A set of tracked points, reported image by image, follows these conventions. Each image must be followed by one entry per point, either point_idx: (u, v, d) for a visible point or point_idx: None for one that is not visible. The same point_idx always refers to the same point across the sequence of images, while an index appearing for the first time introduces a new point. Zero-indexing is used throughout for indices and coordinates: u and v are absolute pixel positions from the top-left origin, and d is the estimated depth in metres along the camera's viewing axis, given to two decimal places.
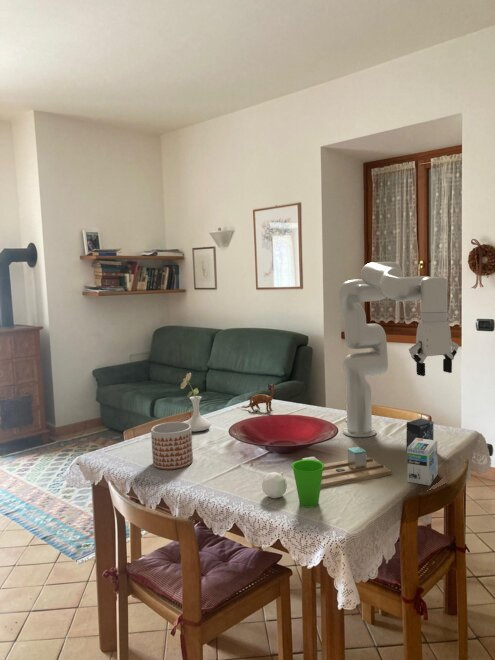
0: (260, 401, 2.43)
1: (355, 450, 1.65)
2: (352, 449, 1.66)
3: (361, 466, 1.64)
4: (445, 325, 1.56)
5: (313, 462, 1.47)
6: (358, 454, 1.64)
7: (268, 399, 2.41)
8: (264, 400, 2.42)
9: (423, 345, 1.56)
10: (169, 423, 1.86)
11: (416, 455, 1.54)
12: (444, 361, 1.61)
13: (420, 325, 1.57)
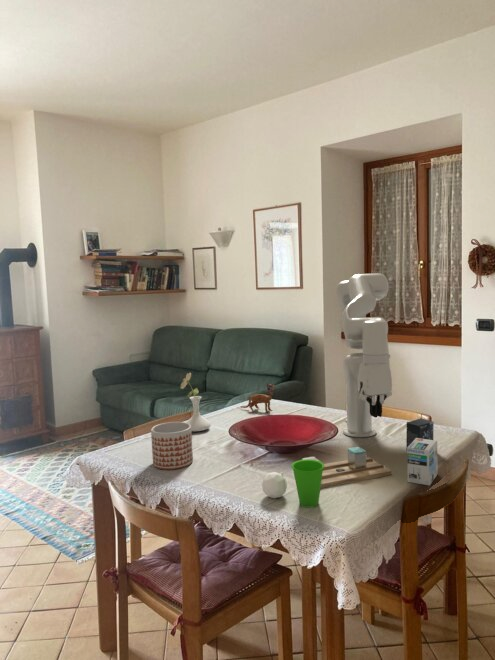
0: (259, 401, 2.43)
1: (355, 450, 1.65)
2: (352, 449, 1.66)
3: (361, 466, 1.64)
4: (385, 366, 1.64)
5: (313, 462, 1.47)
6: (358, 454, 1.64)
7: (267, 399, 2.41)
8: (263, 400, 2.42)
9: (364, 386, 1.63)
10: (169, 423, 1.86)
11: (416, 455, 1.54)
12: None
13: (361, 366, 1.64)
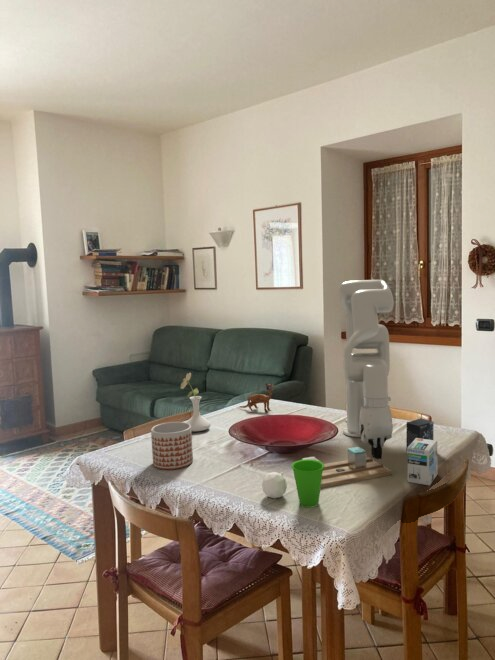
0: (258, 401, 2.43)
1: (355, 450, 1.65)
2: (352, 449, 1.66)
3: (361, 466, 1.64)
4: (386, 410, 1.65)
5: (313, 462, 1.47)
6: (358, 454, 1.64)
7: (266, 399, 2.41)
8: (262, 400, 2.42)
9: (365, 429, 1.64)
10: (169, 423, 1.86)
11: (416, 455, 1.54)
12: None
13: (362, 409, 1.66)
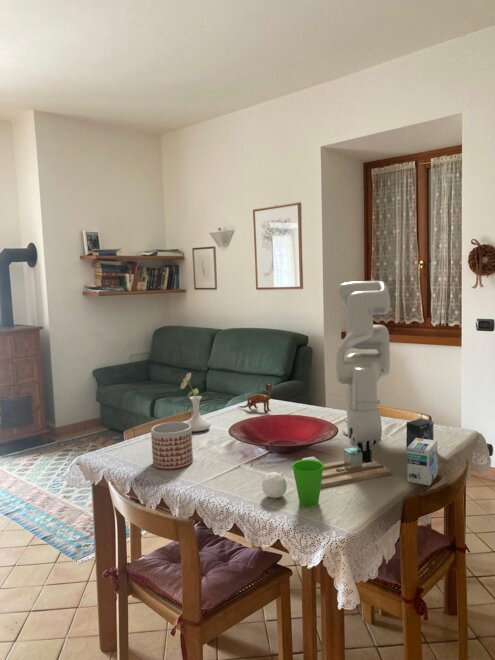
0: (258, 401, 2.43)
1: (351, 451, 1.65)
2: (348, 450, 1.66)
3: (357, 467, 1.64)
4: (375, 413, 1.64)
5: (313, 462, 1.47)
6: (354, 454, 1.63)
7: (266, 399, 2.41)
8: (262, 400, 2.43)
9: (354, 432, 1.63)
10: (169, 423, 1.86)
11: (416, 455, 1.54)
12: None
13: (351, 412, 1.65)
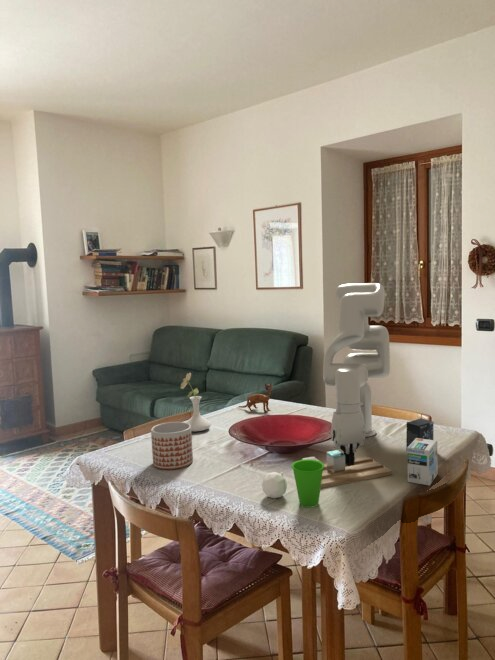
0: (257, 401, 2.44)
1: (334, 454, 1.63)
2: (331, 452, 1.64)
3: (340, 470, 1.62)
4: (358, 415, 1.62)
5: (313, 462, 1.47)
6: (336, 457, 1.61)
7: (265, 399, 2.41)
8: (261, 400, 2.43)
9: (336, 435, 1.61)
10: (169, 423, 1.86)
11: (416, 455, 1.54)
12: None
13: (334, 415, 1.63)
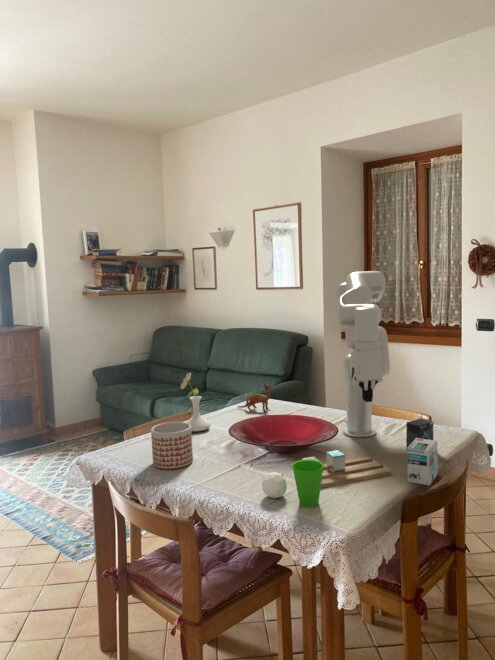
0: (257, 401, 2.44)
1: (334, 454, 1.63)
2: (331, 453, 1.64)
3: (340, 470, 1.62)
4: (376, 353, 1.66)
5: (313, 462, 1.47)
6: (336, 457, 1.61)
7: (264, 399, 2.42)
8: (260, 400, 2.43)
9: (355, 371, 1.66)
10: (169, 423, 1.86)
11: (416, 455, 1.54)
12: None
13: (353, 352, 1.67)
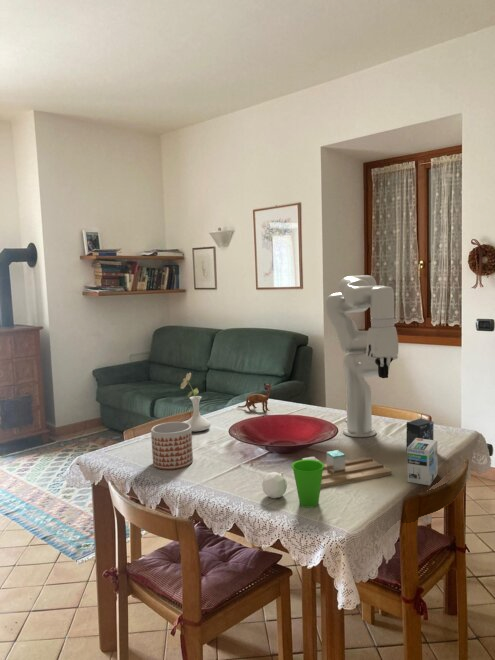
0: (256, 401, 2.44)
1: (334, 454, 1.63)
2: (331, 453, 1.64)
3: (340, 470, 1.62)
4: (392, 330, 1.74)
5: (313, 462, 1.47)
6: (336, 457, 1.61)
7: (264, 399, 2.42)
8: (260, 400, 2.43)
9: (372, 348, 1.73)
10: (169, 423, 1.86)
11: (416, 455, 1.54)
12: None
13: (370, 330, 1.75)
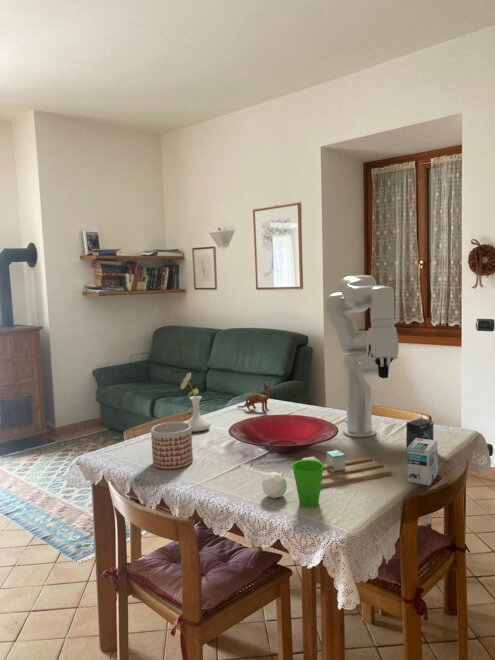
0: (256, 401, 2.44)
1: (334, 454, 1.63)
2: (331, 453, 1.64)
3: (340, 470, 1.62)
4: (392, 330, 1.74)
5: (313, 462, 1.47)
6: (336, 457, 1.61)
7: (264, 399, 2.42)
8: (260, 400, 2.43)
9: (372, 348, 1.73)
10: (169, 423, 1.86)
11: (416, 455, 1.54)
12: None
13: (370, 330, 1.75)
